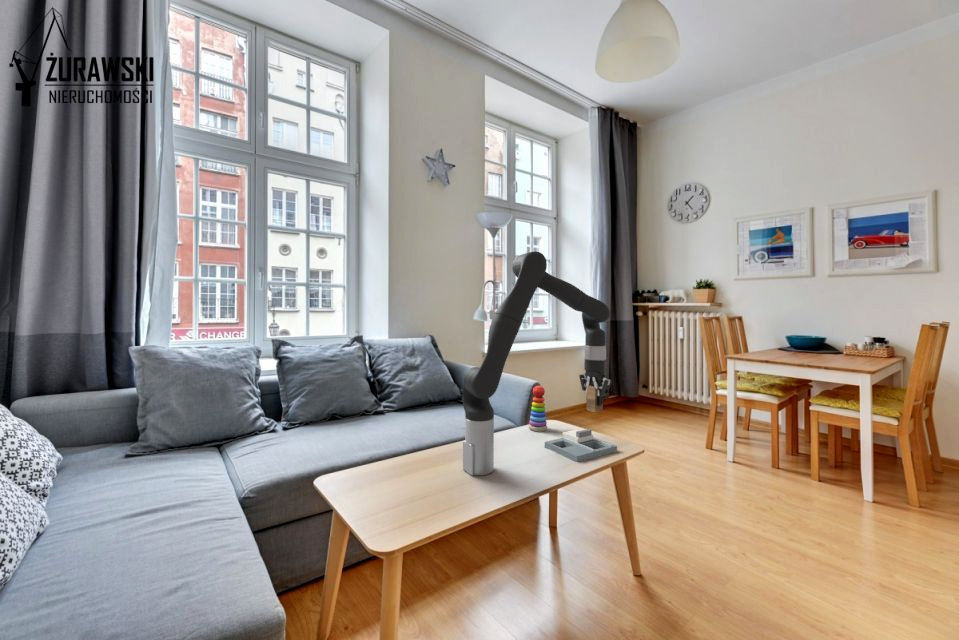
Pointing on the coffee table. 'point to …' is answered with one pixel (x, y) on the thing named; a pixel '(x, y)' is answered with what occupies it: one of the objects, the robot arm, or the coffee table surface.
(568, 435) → the lid
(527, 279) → the robot arm
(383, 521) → the coffee table surface
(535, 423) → the stacking toy
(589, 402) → the walnut post
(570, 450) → the puzzle board
